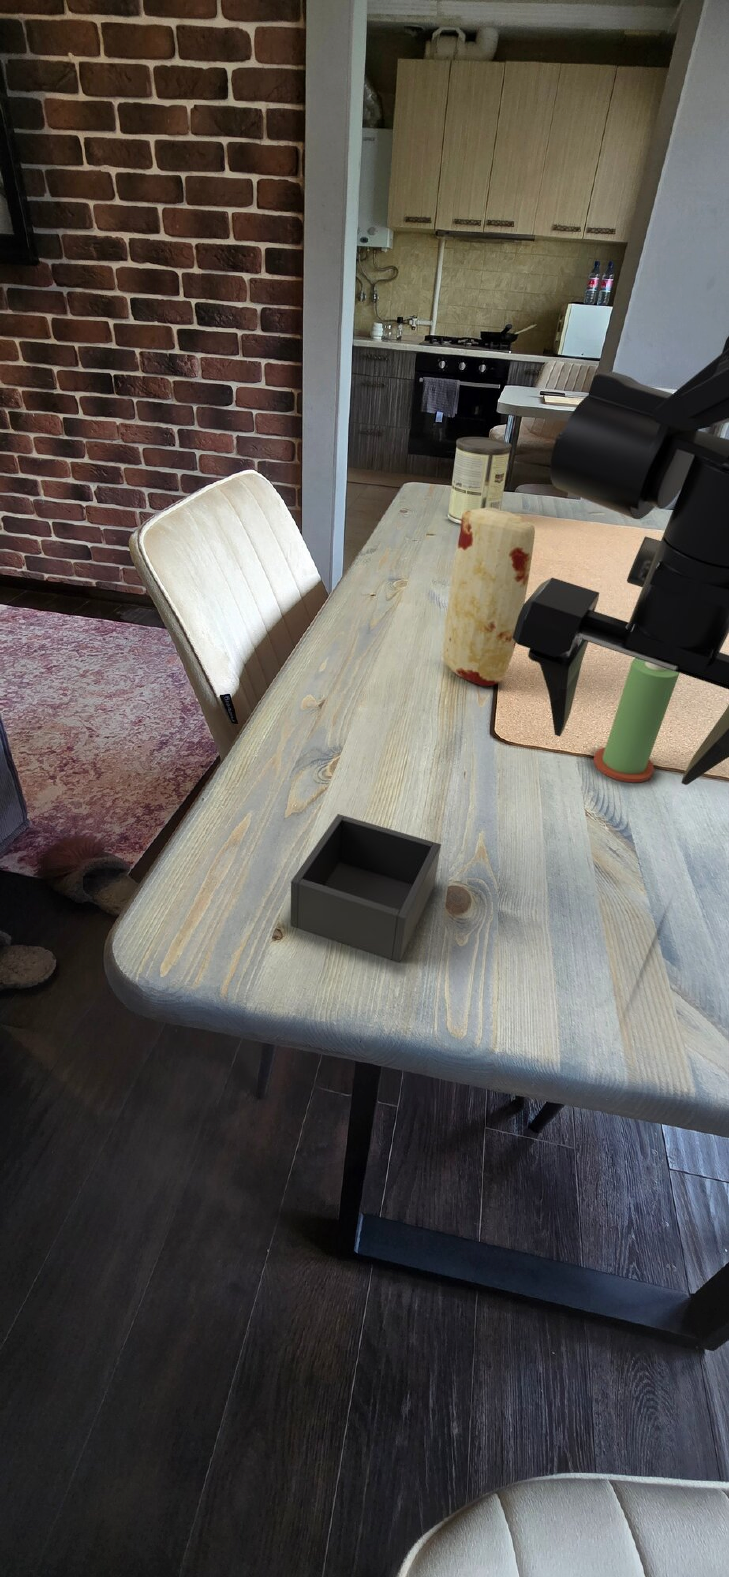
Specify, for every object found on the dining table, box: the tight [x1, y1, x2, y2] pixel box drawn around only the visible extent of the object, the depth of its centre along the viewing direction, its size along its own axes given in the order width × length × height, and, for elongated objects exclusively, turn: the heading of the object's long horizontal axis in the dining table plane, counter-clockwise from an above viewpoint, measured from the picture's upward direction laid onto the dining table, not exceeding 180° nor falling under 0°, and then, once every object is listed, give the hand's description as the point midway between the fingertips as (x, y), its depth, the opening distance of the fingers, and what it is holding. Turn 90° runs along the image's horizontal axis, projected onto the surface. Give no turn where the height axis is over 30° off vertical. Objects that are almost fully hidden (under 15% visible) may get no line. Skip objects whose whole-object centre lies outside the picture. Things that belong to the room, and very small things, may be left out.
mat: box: [593, 746, 655, 784], centre depth 76 cm, size 6×6×1 cm
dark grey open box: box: [290, 813, 442, 964], centre depth 56 cm, size 9×9×5 cm
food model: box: [442, 507, 536, 687], centre depth 85 cm, size 10×7×20 cm
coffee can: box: [447, 436, 513, 525], centre depth 142 cm, size 10×10×14 cm
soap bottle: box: [603, 657, 680, 774], centre depth 73 cm, size 4×4×12 cm
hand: (620, 756), depth 53 cm, fingers open, 9 cm apart
